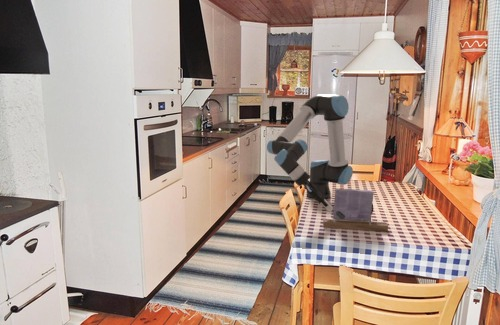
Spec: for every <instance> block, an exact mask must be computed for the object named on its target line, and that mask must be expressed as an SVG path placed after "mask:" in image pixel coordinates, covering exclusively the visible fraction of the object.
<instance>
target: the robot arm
mask: <svg viewBox="0 0 500 325" xmlns="http://www.w3.org/2000/svg"><path fill="white" fill-rule="evenodd" d="M348 113H349V102H348V99H347V98H346V97H345V96H344V95H342V94H316V95H315V96H312V97H311V98H309V99H308V100H306V101H305V102H304V103H303V104H302V106H301V107H300V109H299V112H298V113H297V114H296V115H295V116H294V117H293V119H292V120H291V121H290V122H289V123H288V125H287V126H286V127H285V128H284V129H283V131H282V132H281V133H280V134H279V135H278V136H277V138H276V139H271V140H269V141H268V142H267V144H266V150H267V152H268V153H269V154H270V155H271V154H272V155H275V156H274V158H273V159H274V161H275V163H276V164H277V165H278V166H279V167H280V168H281V169H282V170H283V171H284V172H285V173H286V174H287V175H288V178H291V180H292V181H294V183H295V184H296V185H297V186H298V187H301V186H304V187H303V188H304V189H305V190H306V196H307V197H308V198H312V199H314V200H316V201H317V202H318V205H319V204H321V205H322V206H323V207H324V208H325V209H326V210H327V212H329V213H330V212H332V211H334V206H332V205H331V204H330V203H329V201H327V200H326V199H329V198H331V196H332V193H331V189H330V186H329V183H332V184H338V185H344V186H345V185H347V184H349V182H350V181H351V179H352V177H353V174H354V173H353V172H354V170H353V166H350V165H349V161H348V160H347V158H346V153H345V150H346V149H345V139H344V126H343V124H344V122H343V120H344V119H346V116H347V114H348ZM316 116H323V119H324V121H325V122H326V126H327V134H328V136H327V137H328V146H329V158H330V159H317V160H316V159H315V160H314V159H313V160H312V161H311V162H310V167H309V168H310V169H309V174H308V172H306V171H305V169H304V168H303V167H302V166H301V165H300V164H299V163H298V161H299V159H301V157H303V156H304V155H305V153H306V152H308V144H307V142H306V140H303V139H301V138H300V139H297V140H295V138H296V137H297V136H298V135H299V133H300V132H301V131H302V130H303V129H304V128H305V127H306V125H307V124H308V123H309V122H310V120H313V119H315V117H316ZM294 140H295V141H294ZM293 141H294V142H293Z"/></svg>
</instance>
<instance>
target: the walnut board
mask: <svg viewBox="0 0 500 325" xmlns="http://www.w3.org/2000/svg"><path fill="white" fill-rule="evenodd" d="M322 219H323V221H322V226H323V228H325V229H335V230H336V229H337V230H338V229H340V230H352V231H354V230H356V231H367V232H368V231H369V232H379V233H380V232H384V233H388V232H389V230H388V229H389V225H388V223H387V221H383V222H382V221H372V220H371V221H357V220H341V219H333V218H322Z"/></svg>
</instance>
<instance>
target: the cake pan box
mask: <svg viewBox="0 0 500 325" xmlns="http://www.w3.org/2000/svg"><path fill="white" fill-rule="evenodd" d="M374 194H375V193H374V191H373V190H365V189H352V188H351V189H350V188H349V189H348V188H337V187H336V188H335V190H334V199H333V200H334V202H333V213H332V214H333V215H332V219H341V220H357V221H372V215H373V212H374V204H373V201H374Z"/></svg>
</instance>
